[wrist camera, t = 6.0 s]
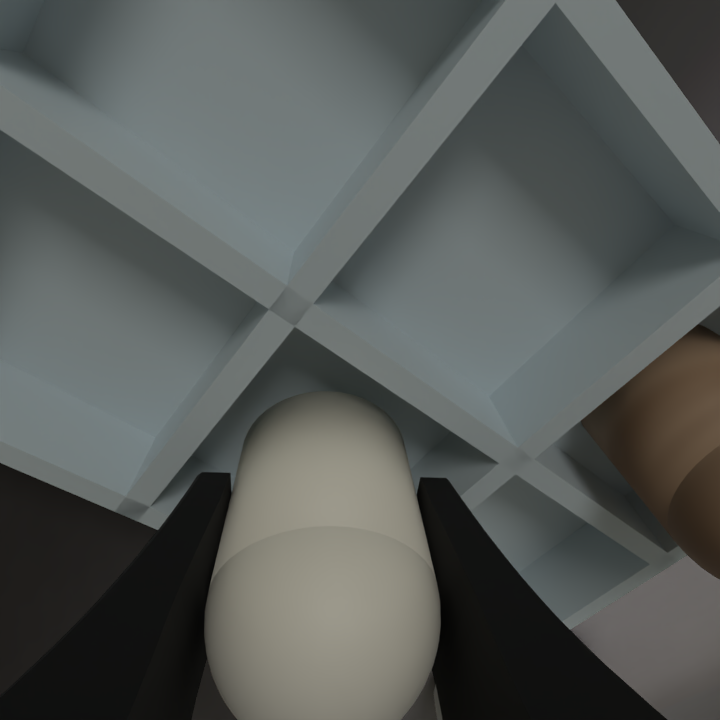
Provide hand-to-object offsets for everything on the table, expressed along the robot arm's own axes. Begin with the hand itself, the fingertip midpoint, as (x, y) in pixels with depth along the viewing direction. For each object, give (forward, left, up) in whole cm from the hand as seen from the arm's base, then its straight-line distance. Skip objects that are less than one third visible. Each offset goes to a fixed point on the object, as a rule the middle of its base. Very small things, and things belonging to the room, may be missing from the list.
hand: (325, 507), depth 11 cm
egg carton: (0, -3, -4) cm, 5 cm away
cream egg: (0, 0, -2) cm, 2 cm away
